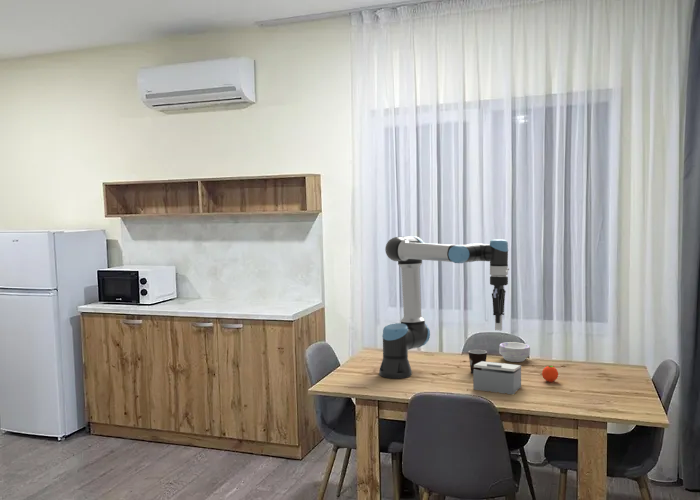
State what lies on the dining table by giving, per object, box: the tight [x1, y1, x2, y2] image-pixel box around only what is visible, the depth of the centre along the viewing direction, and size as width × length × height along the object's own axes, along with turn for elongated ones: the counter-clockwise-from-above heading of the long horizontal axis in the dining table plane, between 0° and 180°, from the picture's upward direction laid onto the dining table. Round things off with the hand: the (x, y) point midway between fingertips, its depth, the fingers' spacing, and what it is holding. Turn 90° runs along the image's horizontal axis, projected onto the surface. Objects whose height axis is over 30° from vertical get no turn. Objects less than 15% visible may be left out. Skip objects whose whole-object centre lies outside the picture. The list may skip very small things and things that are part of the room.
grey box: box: [472, 360, 522, 395], centre depth 268 cm, size 17×13×10 cm
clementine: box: [541, 365, 559, 383], centre depth 277 cm, size 8×7×7 cm
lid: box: [474, 361, 522, 372], centre depth 267 cm, size 17×12×2 cm
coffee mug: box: [467, 349, 488, 374], centre depth 295 cm, size 12×9×10 cm
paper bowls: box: [498, 341, 531, 363], centre depth 318 cm, size 15×15×8 cm
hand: (498, 330), depth 267 cm, fingers closed
